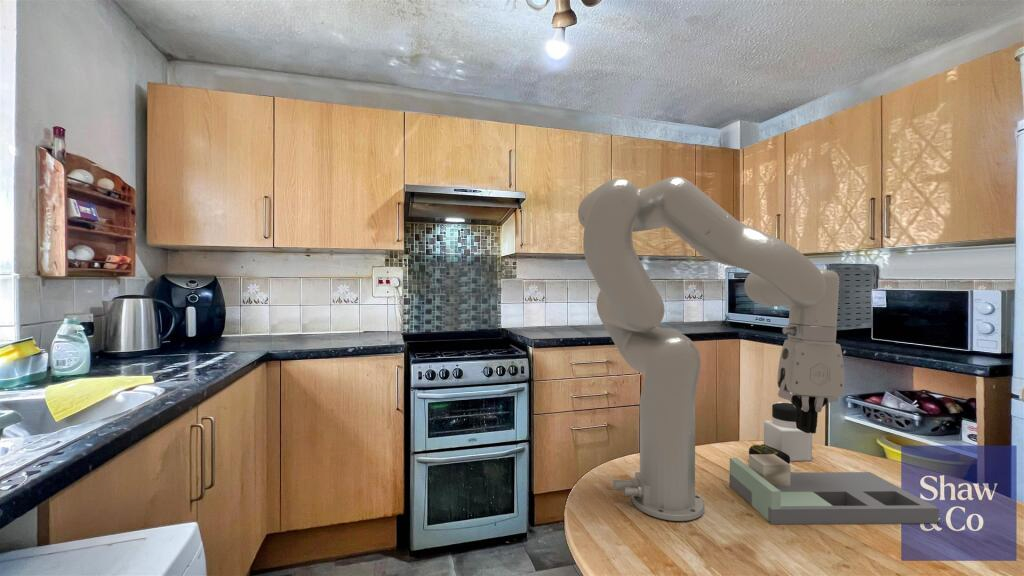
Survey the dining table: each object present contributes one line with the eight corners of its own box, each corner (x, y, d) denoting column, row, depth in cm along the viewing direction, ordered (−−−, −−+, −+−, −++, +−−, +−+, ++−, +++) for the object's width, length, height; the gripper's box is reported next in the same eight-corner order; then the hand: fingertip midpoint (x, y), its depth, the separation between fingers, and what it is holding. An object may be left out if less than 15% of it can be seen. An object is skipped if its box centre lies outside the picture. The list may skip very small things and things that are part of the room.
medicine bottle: (812, 461, 99) (813, 408, 98) (780, 461, 99) (781, 408, 98) (792, 449, 106) (793, 399, 106) (763, 449, 106) (763, 399, 106)
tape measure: (792, 470, 94) (792, 452, 94) (767, 474, 92) (767, 456, 92) (765, 458, 101) (765, 441, 101) (741, 461, 99) (741, 445, 99)
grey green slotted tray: (771, 524, 73) (771, 491, 73) (729, 485, 87) (729, 457, 87) (938, 523, 73) (939, 490, 73) (869, 484, 87) (869, 457, 87)
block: (763, 486, 81) (763, 464, 81) (748, 474, 86) (748, 454, 86) (790, 486, 81) (790, 464, 81) (774, 474, 86) (774, 454, 86)
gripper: (784, 334, 79) (778, 435, 80) (866, 339, 79) (860, 440, 80) (761, 330, 87) (755, 422, 87) (835, 334, 87) (830, 426, 87)
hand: (805, 430), depth 83 cm, fingers closed
